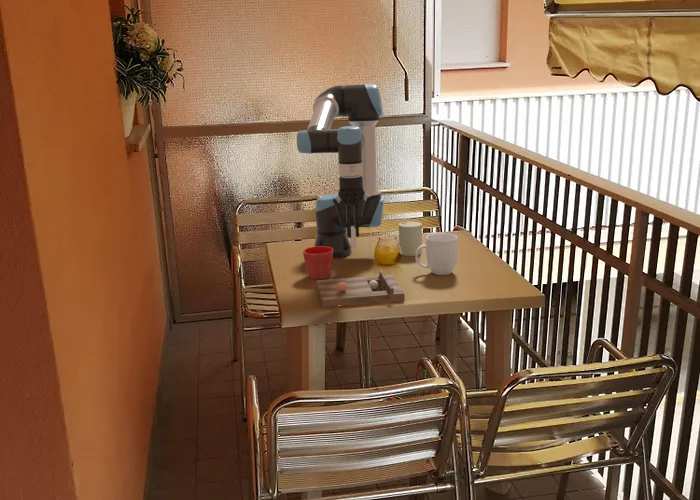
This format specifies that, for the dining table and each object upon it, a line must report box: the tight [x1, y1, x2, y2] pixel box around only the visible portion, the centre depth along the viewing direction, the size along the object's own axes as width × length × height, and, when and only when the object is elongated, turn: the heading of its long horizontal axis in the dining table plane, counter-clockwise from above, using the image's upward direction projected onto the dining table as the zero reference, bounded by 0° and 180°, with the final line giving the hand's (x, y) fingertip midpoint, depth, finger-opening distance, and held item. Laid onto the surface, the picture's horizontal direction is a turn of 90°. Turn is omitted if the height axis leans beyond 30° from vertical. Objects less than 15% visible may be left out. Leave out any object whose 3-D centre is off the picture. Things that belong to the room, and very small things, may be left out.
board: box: [316, 269, 406, 308], centre depth 238 cm, size 20×26×4 cm
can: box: [398, 220, 423, 257], centre depth 282 cm, size 9×9×12 cm
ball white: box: [369, 280, 378, 291], centre depth 242 cm, size 3×3×3 cm
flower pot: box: [302, 246, 334, 280], centre depth 258 cm, size 11×11×10 cm
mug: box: [414, 232, 459, 276], centre depth 256 cm, size 15×11×13 cm
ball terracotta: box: [337, 282, 347, 292], centre depth 233 cm, size 3×3×3 cm
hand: (353, 246), depth 238 cm, fingers closed
